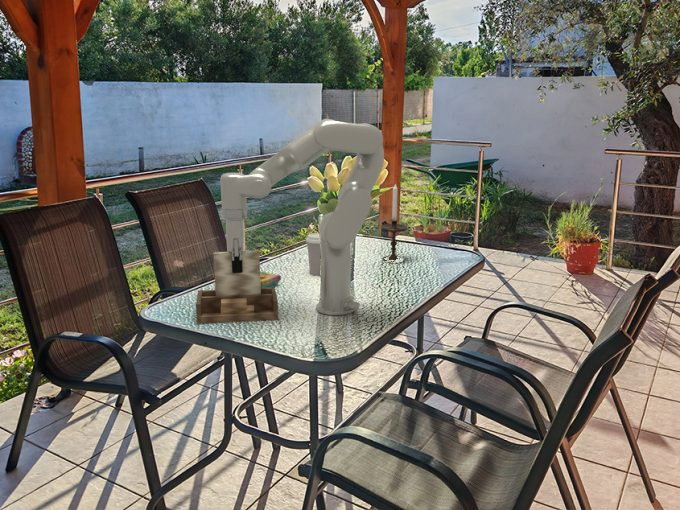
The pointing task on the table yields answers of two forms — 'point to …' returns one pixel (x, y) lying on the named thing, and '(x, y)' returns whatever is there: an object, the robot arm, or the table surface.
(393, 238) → the candlestick
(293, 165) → the robot arm
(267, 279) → the puzzle game
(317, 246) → the coffee cup
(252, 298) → the walnut rack
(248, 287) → the birch sheet
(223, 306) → the tan wooden block
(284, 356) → the table surface
